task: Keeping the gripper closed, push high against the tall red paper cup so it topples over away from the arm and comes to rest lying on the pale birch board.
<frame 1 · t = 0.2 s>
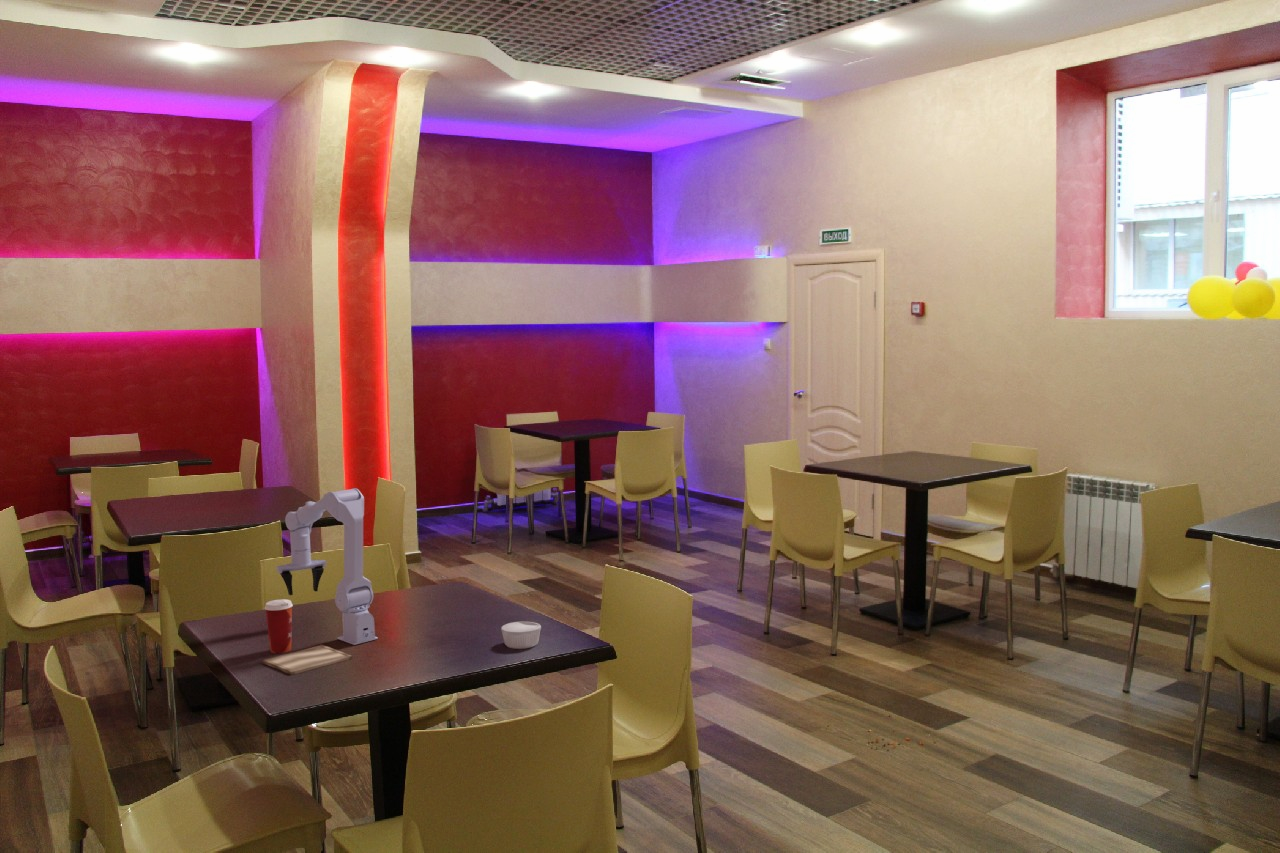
hand: (303, 592, 324), 10 cm above the table, fingers open, 7 cm apart
ramekin: (521, 645, 299), on the table
birch board: (307, 660, 288), on the table
paper cup: (280, 651, 299), on the table
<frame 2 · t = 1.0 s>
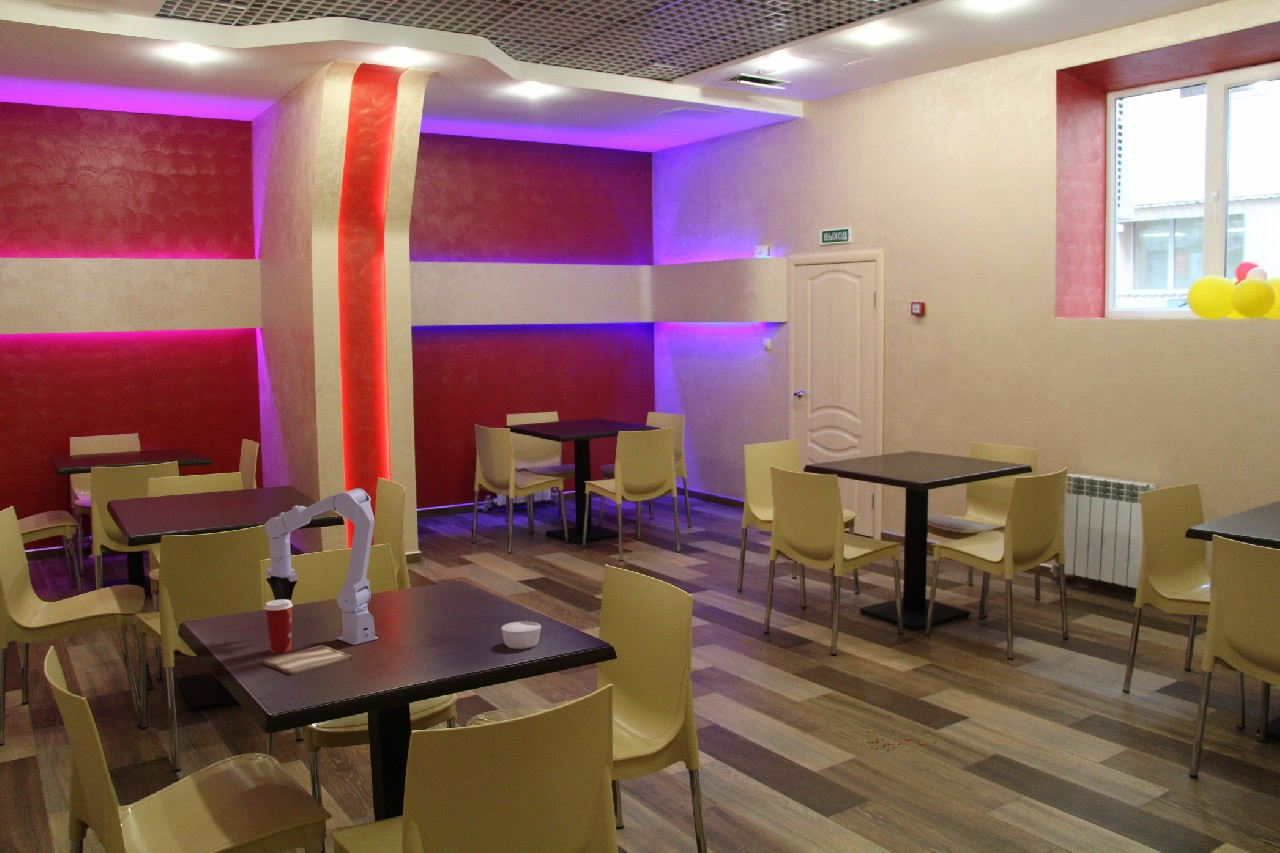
hand: (283, 601, 312), 10 cm above the table, fingers open, 4 cm apart
nothing on the table moved.
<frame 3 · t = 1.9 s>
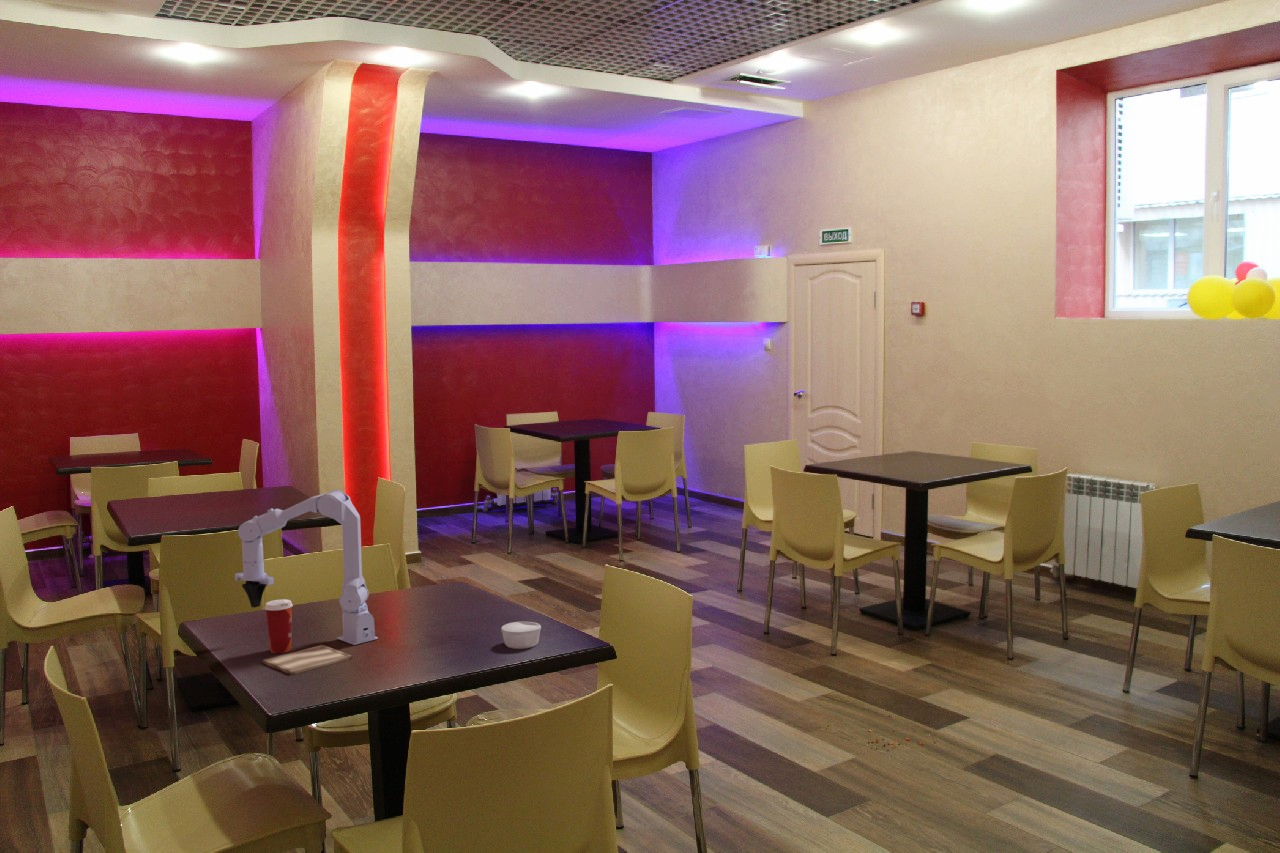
hand: (255, 606, 307), 10 cm above the table, fingers closed
nothing on the table moved.
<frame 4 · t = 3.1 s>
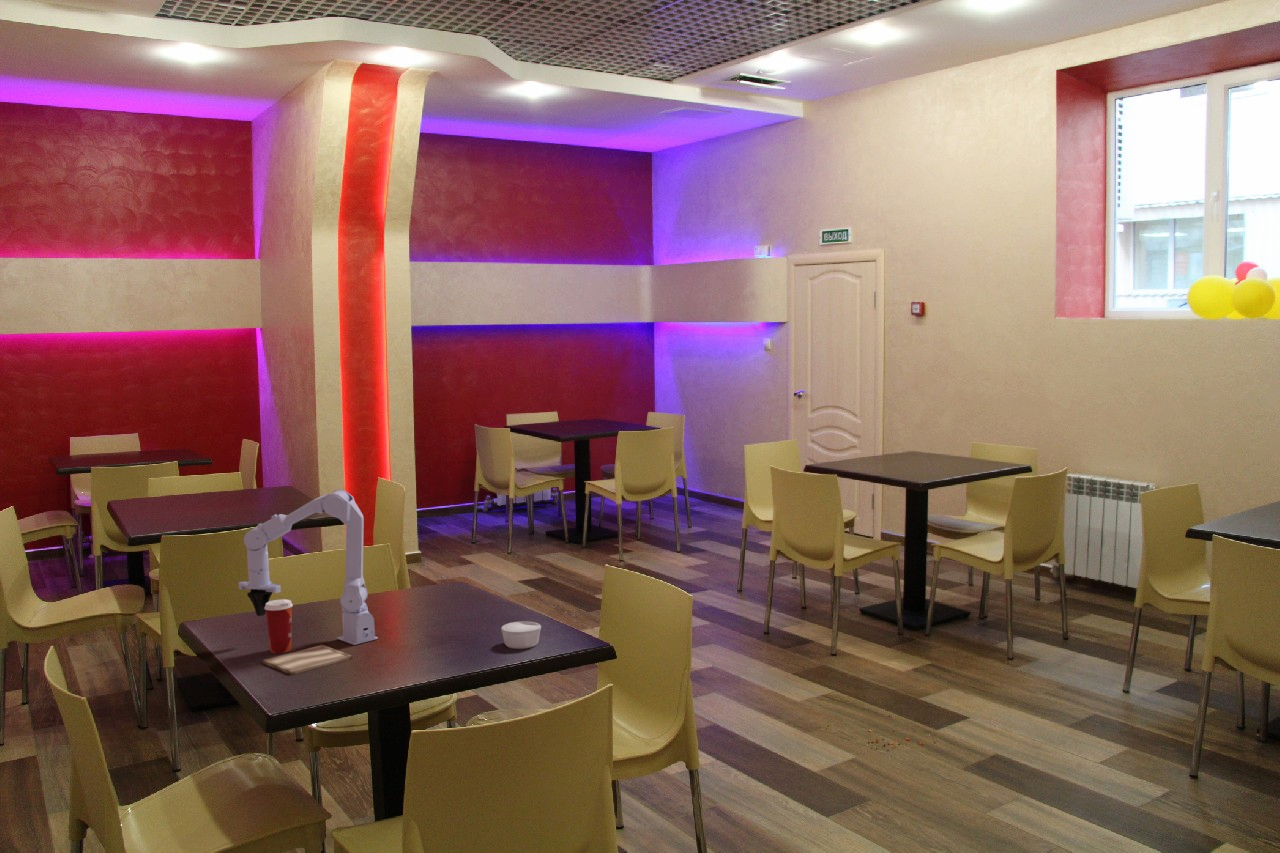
hand: (261, 615, 305), 8 cm above the table, fingers closed
nothing on the table moved.
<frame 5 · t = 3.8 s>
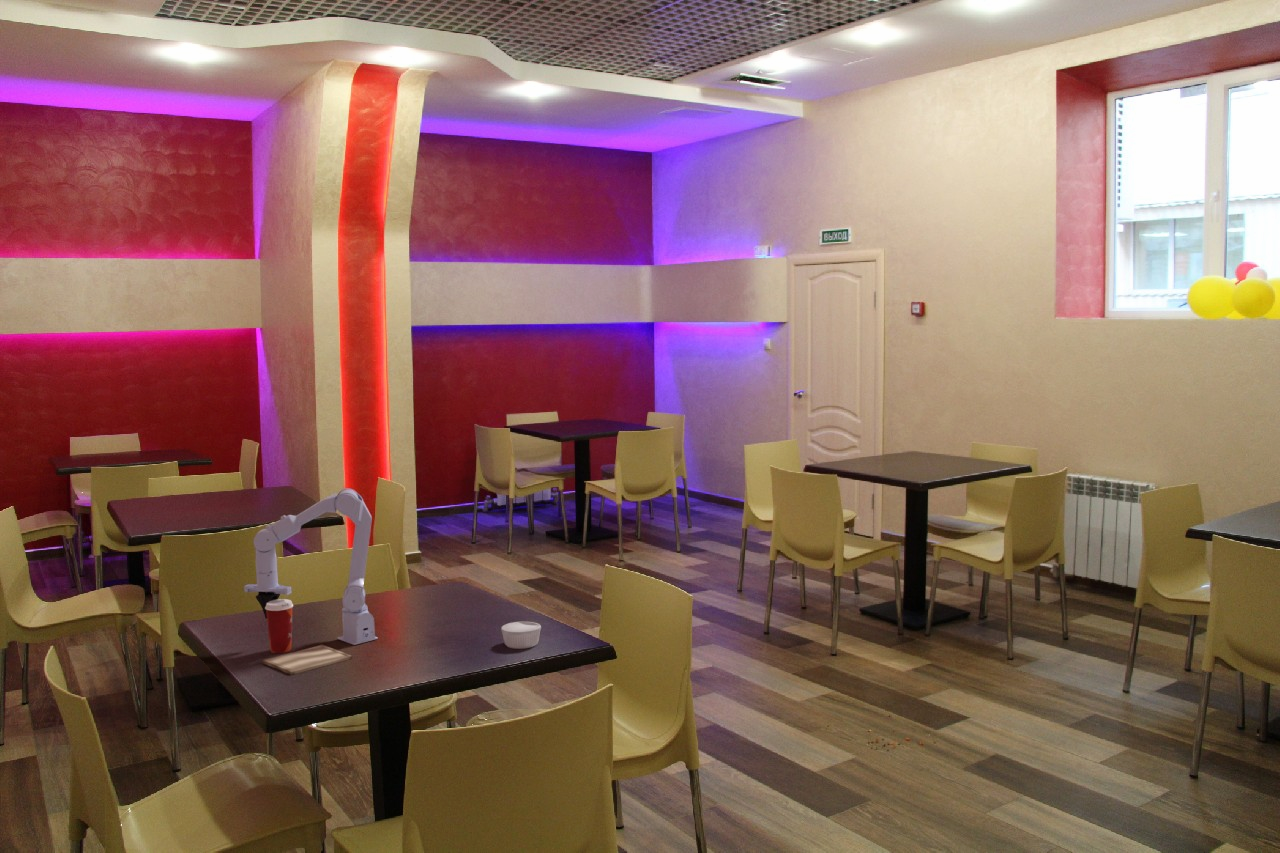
hand: (269, 617, 302), 8 cm above the table, fingers closed
paper cup: (280, 650, 298), on the table, touching gripper
everything else where it was.
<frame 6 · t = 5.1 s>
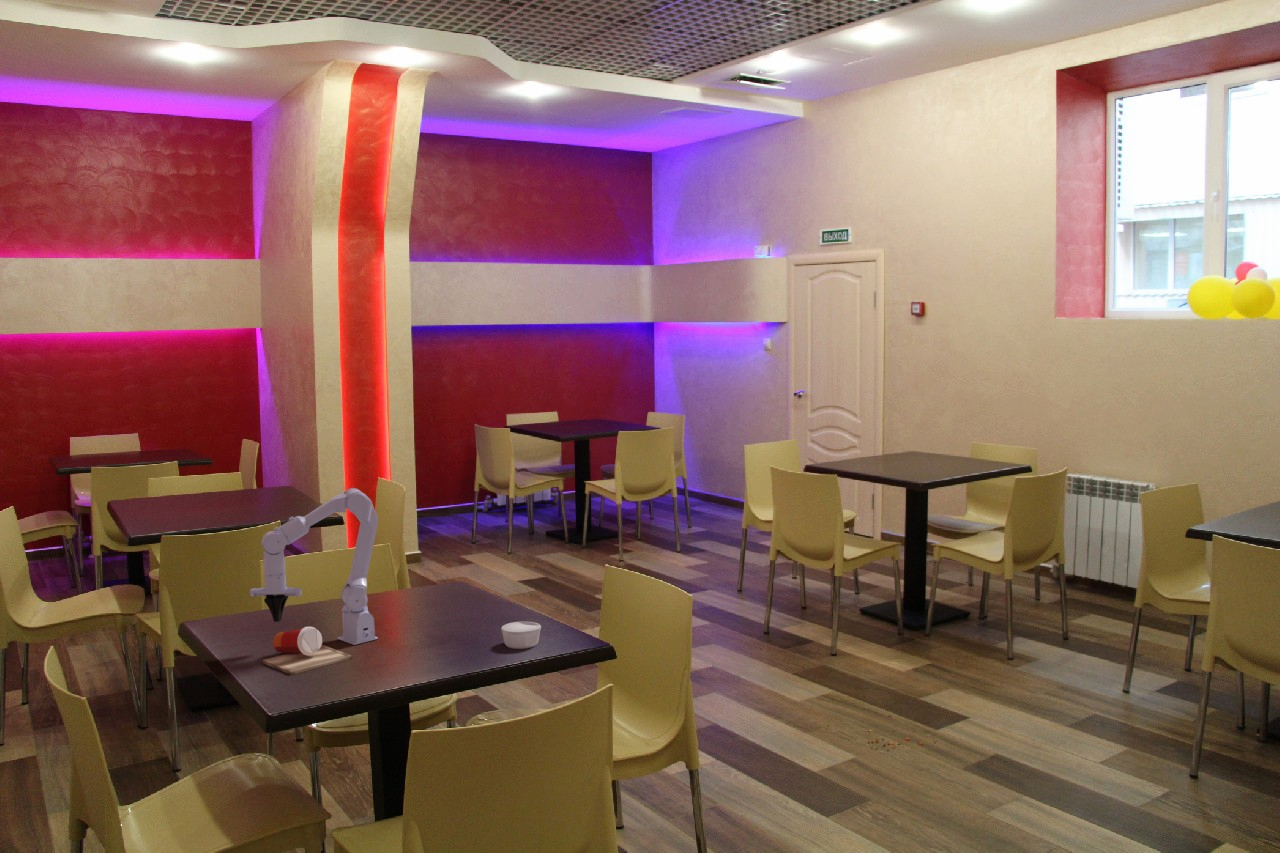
hand: (277, 620, 298), 8 cm above the table, fingers closed
paper cup: (280, 642, 296), point 3 cm above the table, touching birch board
everything else where it was.
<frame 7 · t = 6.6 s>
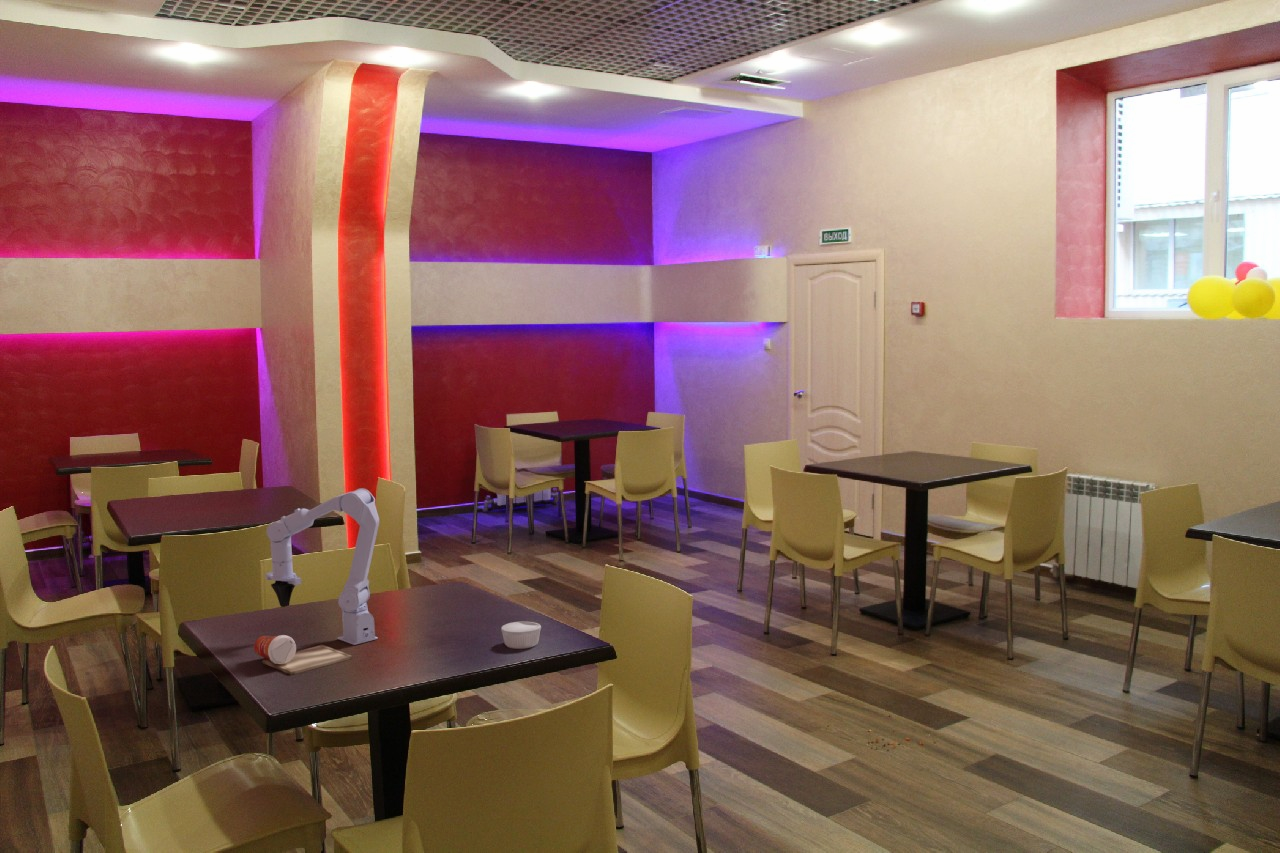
hand: (284, 606, 309), 10 cm above the table, fingers closed
paper cup: (263, 646, 292), point 3 cm above the table, touching birch board
everything else where it was.
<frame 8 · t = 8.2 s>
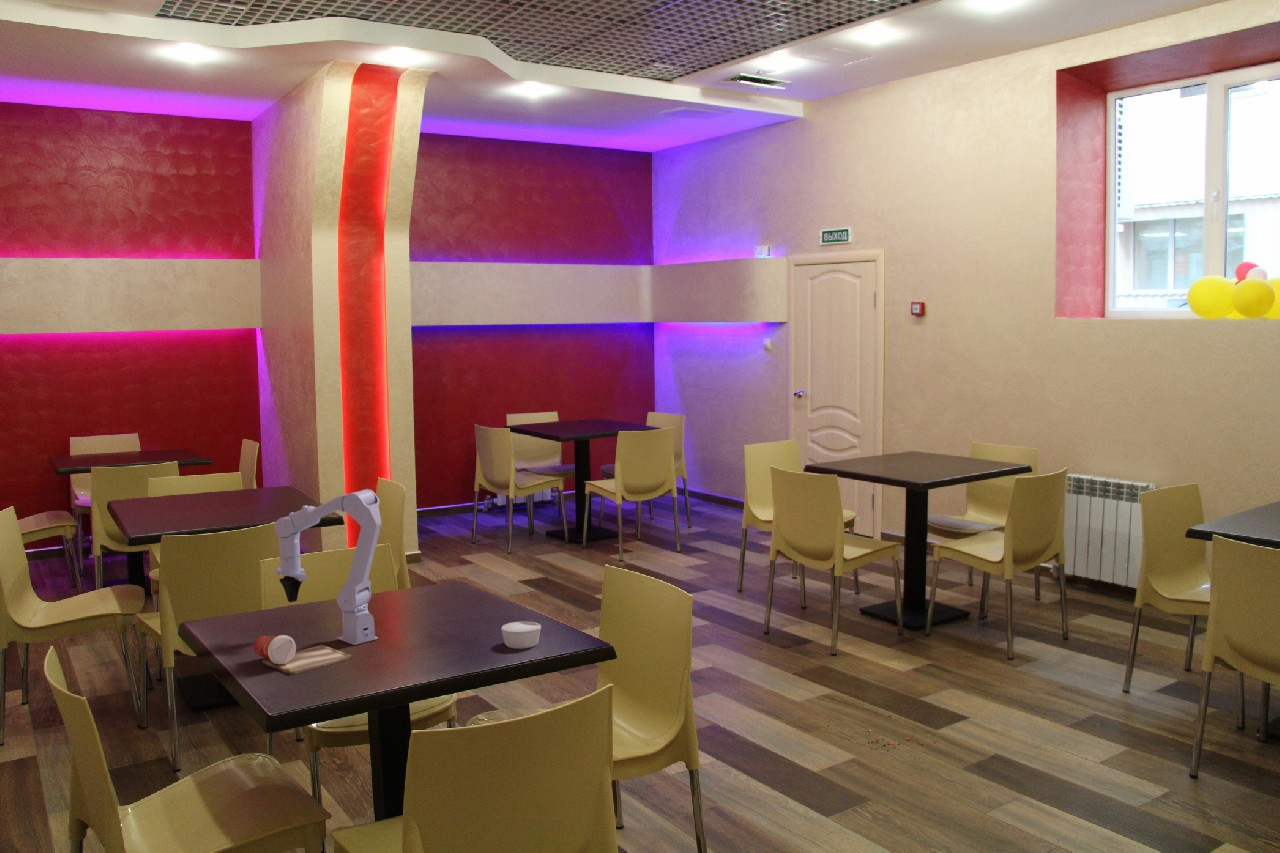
hand: (292, 601, 312), 10 cm above the table, fingers closed
nothing on the table moved.
at the end: paper cup tilted 82°; paper cup inside the target area (11.7 cm from its centre), point 3.2 cm above the table; paper cup moved 7.7 cm from its start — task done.
